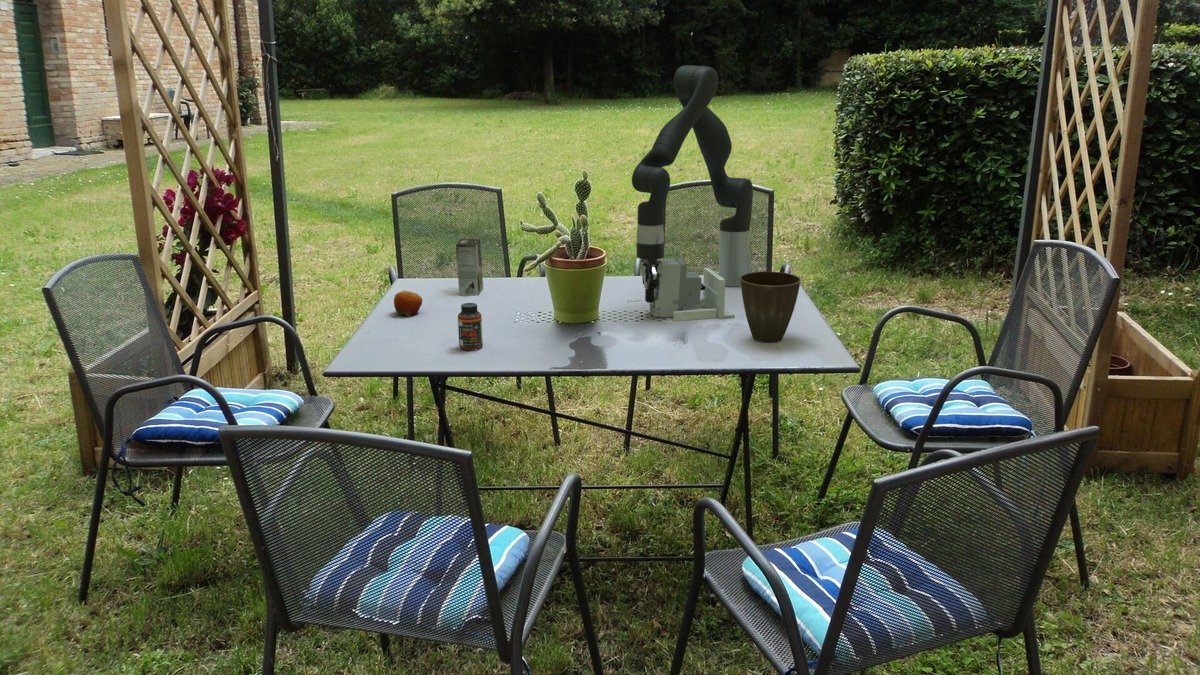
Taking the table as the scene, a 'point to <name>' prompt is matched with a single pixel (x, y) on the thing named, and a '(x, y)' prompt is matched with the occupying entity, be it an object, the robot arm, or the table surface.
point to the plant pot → (769, 303)
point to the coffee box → (469, 267)
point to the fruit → (407, 303)
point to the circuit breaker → (674, 288)
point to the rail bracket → (708, 300)
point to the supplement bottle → (470, 327)
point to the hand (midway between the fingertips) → (649, 301)
